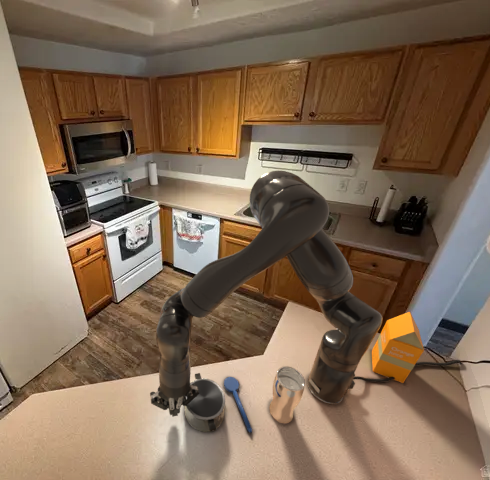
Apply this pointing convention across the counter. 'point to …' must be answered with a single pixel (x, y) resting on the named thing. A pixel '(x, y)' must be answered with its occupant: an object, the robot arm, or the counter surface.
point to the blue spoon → (237, 398)
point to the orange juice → (397, 348)
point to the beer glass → (286, 393)
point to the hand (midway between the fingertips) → (174, 412)
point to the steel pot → (206, 405)
